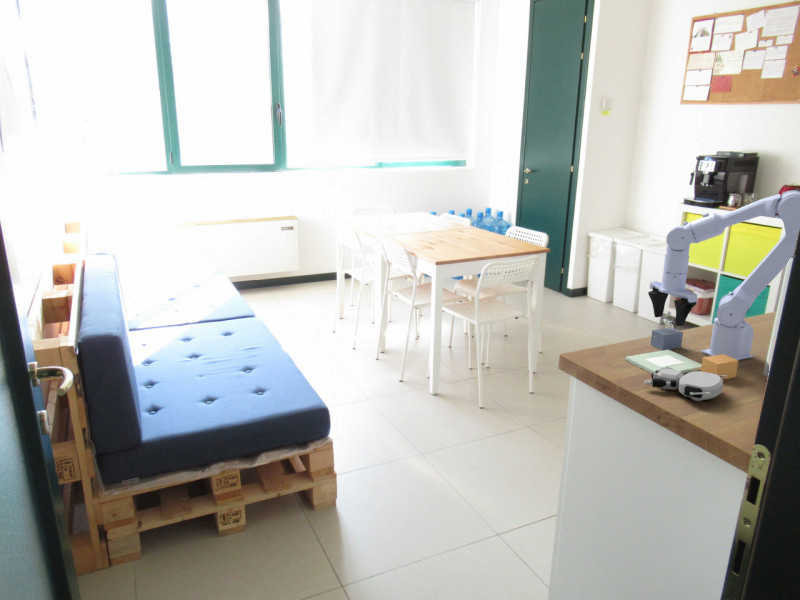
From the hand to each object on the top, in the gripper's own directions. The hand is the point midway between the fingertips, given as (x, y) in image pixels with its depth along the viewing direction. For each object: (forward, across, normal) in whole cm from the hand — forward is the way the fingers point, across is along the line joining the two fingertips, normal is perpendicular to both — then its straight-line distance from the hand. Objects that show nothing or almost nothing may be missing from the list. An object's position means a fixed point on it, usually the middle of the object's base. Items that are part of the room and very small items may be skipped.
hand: (668, 320), depth 160 cm
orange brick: (+7, +20, -3) cm, 22 cm away
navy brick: (+7, 0, 0) cm, 7 cm away
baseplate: (+7, +10, -10) cm, 16 cm away
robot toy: (+8, +24, -17) cm, 31 cm away
